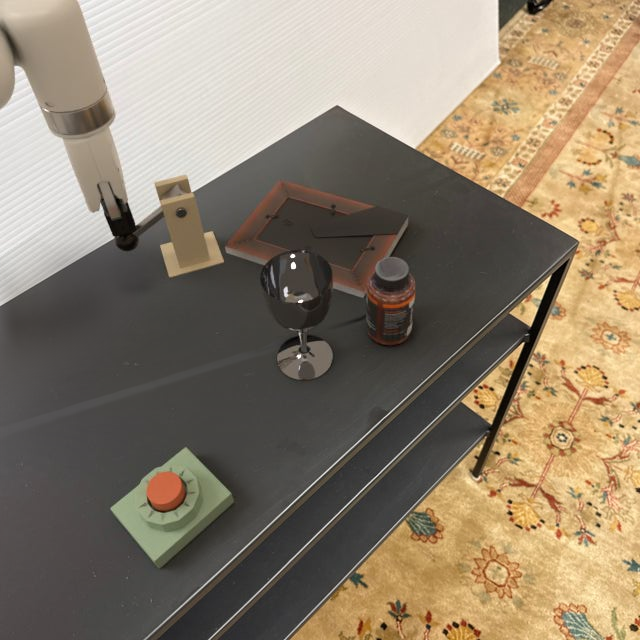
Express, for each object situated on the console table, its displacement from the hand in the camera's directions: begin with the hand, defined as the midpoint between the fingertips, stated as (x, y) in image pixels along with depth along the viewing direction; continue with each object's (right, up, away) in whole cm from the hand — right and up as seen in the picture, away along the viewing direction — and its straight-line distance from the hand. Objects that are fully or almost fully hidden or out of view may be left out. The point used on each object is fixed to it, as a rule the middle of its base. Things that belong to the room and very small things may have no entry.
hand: (124, 230), depth 86 cm
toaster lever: (+4, +1, +2) cm, 5 cm away
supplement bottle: (+35, -13, -2) cm, 38 cm away
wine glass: (+24, -17, -4) cm, 30 cm away
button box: (+11, -32, -17) cm, 38 cm away
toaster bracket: (+8, -3, +8) cm, 11 cm away
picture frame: (+26, -1, +9) cm, 27 cm away
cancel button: (+10, -30, -20) cm, 37 cm away
